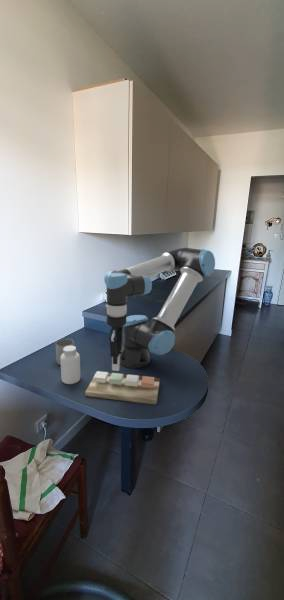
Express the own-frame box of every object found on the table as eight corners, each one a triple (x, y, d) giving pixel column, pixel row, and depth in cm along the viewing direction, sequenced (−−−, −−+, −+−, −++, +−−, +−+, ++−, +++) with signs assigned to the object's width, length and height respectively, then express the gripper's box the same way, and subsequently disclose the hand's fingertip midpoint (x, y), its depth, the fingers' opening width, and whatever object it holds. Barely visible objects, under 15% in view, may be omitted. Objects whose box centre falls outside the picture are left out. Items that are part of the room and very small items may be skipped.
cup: (61, 367, 129) (60, 347, 126) (53, 360, 135) (52, 341, 132) (77, 361, 134) (76, 342, 132) (69, 355, 140) (68, 337, 138)
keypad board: (96, 377, 122) (96, 371, 121) (159, 383, 118) (159, 378, 117) (85, 396, 108) (85, 390, 108) (156, 404, 105) (156, 398, 104)
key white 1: (97, 375, 116) (97, 371, 115) (108, 376, 115) (108, 372, 115) (93, 381, 111) (93, 377, 111) (105, 382, 111) (104, 378, 110)
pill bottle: (63, 386, 114) (61, 353, 110) (60, 376, 121) (58, 345, 117) (82, 382, 117) (81, 350, 113) (78, 373, 124) (77, 342, 120)
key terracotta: (142, 380, 113) (142, 376, 113) (154, 381, 113) (154, 377, 112) (141, 386, 109) (141, 382, 108) (153, 388, 108) (153, 383, 108)
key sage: (112, 376, 115) (112, 372, 115) (123, 378, 114) (123, 373, 114) (109, 383, 111) (109, 379, 110) (120, 384, 110) (120, 380, 109)
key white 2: (127, 378, 114) (127, 374, 114) (138, 379, 114) (138, 375, 113) (124, 385, 110) (125, 380, 109) (136, 386, 109) (136, 382, 108)
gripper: (111, 308, 111) (110, 361, 118) (102, 318, 99) (102, 377, 105) (129, 309, 110) (128, 362, 117) (122, 320, 98) (121, 379, 104)
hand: (115, 369), depth 111 cm, fingers closed
